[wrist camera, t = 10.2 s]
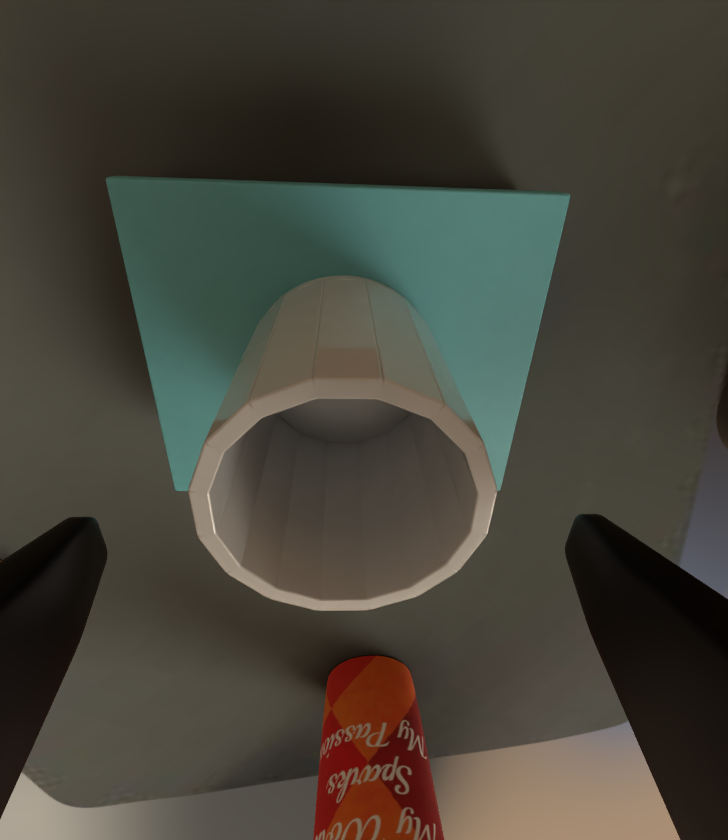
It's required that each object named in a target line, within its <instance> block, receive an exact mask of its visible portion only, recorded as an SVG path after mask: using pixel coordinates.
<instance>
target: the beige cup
mask: <svg viewBox="0 0 728 840" xmlns="http://www.w3.org/2000/svg"><path fill="white" fill-rule="evenodd" d="M188 488H189V491H188V493H189V498H190V503H191V508H192V513H193V518H194V522H195V527H196V532H197V535H198V538H199V539H200V540H201V542H202V543H203V544H204V546H205V547H206V548H207V549H208V551H209V552H210V553H211V554H212V556H213V557H214V558H215V560H216V561H217V562H218V563H219V565H220V566H221V567H222V568H223V570H224V571H225V572H226V573H227V574H228V575H230V576H232V577H233V578H235V579H237V580H238V581H240V582H242V583H243V584H245V585H247V586H248V587H250V588H252V589H253V590H255V591H257V592H258V593H260V594H262V595H263V596H265V597H267V598H269V599H272V600H276V601H280V602H284V603H288V604H292V605H296V606H300V607H304V608H308V609H312V610H318V611H350V610H368V609H369V610H371V609H375V608H379V607H382V606H386V605H389V604H393V603H397V602H400V601H404V600H407V599H411V598H415V597H416V596H419V595H421V594H422V593H424V592H426V591H427V590H429V589H431V588H432V587H434V586H435V585H437V584H439V583H440V582H442V581H443V580H445V579H447V578H448V577H450V576H452V575H453V574H455V573H456V572H457V571H458V570H460V569H461V567H462V566H463V565H464V564H465V562H466V561H467V560H468V558H469V557H470V556H471V555H472V553H473V552H474V551H475V550H476V548H477V547H478V546H479V545H480V543H481V542H482V541H483V540H484V538H485V537H486V534H487V533H488V529H489V525H490V521H491V516H492V512H493V508H494V504H495V499H496V495H497V485H496V482H495V478H494V475H493V471H492V468H491V464H490V461H489V457H488V454H487V450H486V447H485V444H484V442H483V440H482V438H481V436H480V434H479V431H478V429H477V427H476V425H475V423H474V421H473V419H472V417H471V415H470V412H469V410H468V408H467V406H466V404H465V402H464V400H463V398H462V396H461V393H460V391H459V389H458V387H457V385H456V383H455V381H454V379H453V377H452V374H451V372H450V370H449V368H448V366H447V364H446V362H445V360H444V358H443V356H442V353H441V351H440V349H439V347H438V345H437V343H436V341H435V339H434V337H433V334H432V332H431V330H430V328H429V326H428V324H427V323H426V322H425V321H424V320H423V318H422V317H421V315H420V314H419V313H418V311H417V310H416V309H415V307H414V306H413V305H412V304H411V303H410V302H409V301H408V300H407V299H406V298H405V297H403V296H402V295H400V294H399V293H398V292H396V291H395V290H393V289H391V288H390V287H388V286H386V285H384V284H382V283H379V282H376V281H374V280H371V279H367V278H362V277H358V276H347V275H339V276H327V277H322V278H317V279H314V280H311V281H308V282H305V283H303V284H301V285H299V286H297V287H294V288H293V289H291V290H290V291H288V292H287V293H285V294H284V295H282V296H281V297H280V298H279V299H278V300H277V301H276V302H275V303H274V304H273V305H272V306H271V307H270V308H269V309H268V311H267V312H266V313H265V315H264V316H263V318H262V319H261V320H260V321H259V323H258V324H257V326H256V329H255V331H254V333H253V335H252V337H251V340H250V342H249V344H248V346H247V348H246V351H245V353H244V355H243V357H242V359H241V362H240V364H239V366H238V368H237V370H236V373H235V375H234V377H233V379H232V381H231V384H230V386H229V388H228V390H227V392H226V395H225V397H224V399H223V401H222V404H221V406H220V408H219V410H218V412H217V415H216V417H215V419H214V421H213V423H212V426H211V428H210V430H209V432H208V434H207V437H206V439H205V441H204V443H203V446H202V449H201V452H200V455H199V458H198V461H197V464H196V467H195V470H194V473H193V476H192V479H191V482H190V485H189V487H188Z"/></svg>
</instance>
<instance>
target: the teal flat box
mask: <svg viewBox="0 0 728 840" xmlns="http://www.w3.org/2000/svg"><path fill="white" fill-rule="evenodd" d="M106 184H107V188H108V193H109V197H110V201H111V206H112V210H113V215H114V219H115V224H116V228H117V233H118V237H119V242H120V246H121V251H122V255H123V260H124V264H125V269H126V273H127V277H128V282H129V286H130V291H131V295H132V300H133V304H134V309H135V313H136V318H137V322H138V327H139V331H140V336H141V340H142V345H143V349H144V353H145V358H146V362H147V367H148V371H149V376H150V380H151V385H152V389H153V394H154V398H155V403H156V407H157V412H158V416H159V421H160V425H161V429H162V434H163V438H164V443H165V447H166V452H167V456H168V461H169V465H170V470H171V474H172V479H173V483H174V488H175V490H176V491H189V488H188V487H189V485H190V482H191V479H192V476H193V473H194V470H195V467H196V464H197V461H198V458H199V455H200V452H201V449H202V446H203V443H204V441H205V439H206V437H207V434H208V432H209V430H210V428H211V426H212V423H213V421H214V419H215V417H216V415H217V412H218V410H219V408H220V406H221V404H222V401H223V399H224V397H225V395H226V392H227V390H228V388H229V386H230V384H231V381H232V379H233V377H234V375H235V373H236V370H237V368H238V366H239V364H240V362H241V359H242V357H243V355H244V353H245V351H246V348H247V346H248V344H249V342H250V340H251V337H252V335H253V333H254V331H255V329H256V326H257V324H258V323H259V321H260V320H261V319H262V318H263V316H264V315H265V313H266V312H267V311H268V309H269V308H270V307H271V306H272V305H273V304H274V303H275V302H276V301H277V300H278V299H279V298H280V297H281V296H282V295H284V294H285V293H287V292H288V291H290V290H291V289H293V288H294V287H297V286H299V285H301V284H303V283H305V282H308V281H311V280H314V279H317V278H322V277H327V276H339V275H347V276H358V277H362V278H367V279H371V280H374V281H376V282H379V283H382V284H384V285H386V286H388V287H390V288H391V289H393V290H395V291H396V292H398V293H399V294H400V295H402V296H403V297H405V298H406V299H407V300H408V301H409V302H410V303H411V304H412V305H413V306H414V307H415V309H416V310H417V311H418V313H419V314H420V315H421V317H422V318H423V320H424V321H425V322H426V323H427V324H428V326H429V328H430V330H431V332H432V334H433V337H434V339H435V341H436V343H437V345H438V347H439V349H440V351H441V353H442V356H443V358H444V360H445V362H446V364H447V366H448V368H449V370H450V372H451V374H452V377H453V379H454V381H455V383H456V385H457V387H458V389H459V391H460V393H461V396H462V398H463V400H464V402H465V404H466V406H467V408H468V410H469V412H470V415H471V417H472V419H473V421H474V423H475V425H476V427H477V429H478V431H479V434H480V436H481V438H482V440H483V442H484V444H485V447H486V450H487V454H488V457H489V461H490V464H491V468H492V471H493V475H494V478H495V482H496V485H497V491H499V490H500V489H501V485H502V480H503V476H504V472H505V468H506V464H507V460H508V455H509V451H510V447H511V443H512V439H513V434H514V430H515V426H516V422H517V418H518V414H519V409H520V405H521V401H522V397H523V393H524V389H525V384H526V380H527V376H528V372H529V368H530V363H531V359H532V355H533V351H534V347H535V343H536V338H537V334H538V330H539V326H540V322H541V317H542V313H543V309H544V305H545V301H546V297H547V292H548V288H549V284H550V280H551V276H552V271H553V267H554V263H555V259H556V255H557V251H558V246H559V242H560V238H561V234H562V230H563V225H564V221H565V217H566V213H567V209H568V205H569V200H570V194H568V193H564V192H557V191H529V190H501V189H474V188H446V187H418V186H390V185H363V184H335V183H307V182H280V181H252V180H224V179H197V178H169V177H141V176H111V177H107V178H106Z"/></svg>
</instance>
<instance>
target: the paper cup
mask: <svg viewBox="0 0 728 840" xmlns="http://www.w3.org/2000/svg"><path fill="white" fill-rule="evenodd" d="M313 840H444V836H443V831H442V826H441V821H440V816H439V811H438V806H437V801H436V796H435V791H434V785H433V780H432V774H431V769H430V764H429V759H428V754H427V749H426V744H425V738H424V733H423V728H422V723H421V718H420V713H419V708H418V703H417V699H416V694H415V689H414V685H413V681H412V677H411V674H410V671H409V669H408V668H407V667H406V666H405V665H404V664H403V663H401V662H399V661H397V660H395V659H392V658H389V657H384V656H362V657H356V658H353V659H350V660H347V661H345V662H343V663H341V664H339V665H338V666H336V667H335V668H334V669H333V670H332V671H331V673H330V675H329V677H328V681H327V689H326V698H325V708H324V718H323V730H322V741H321V753H320V765H319V777H318V790H317V802H316V814H315V826H314V839H313Z"/></svg>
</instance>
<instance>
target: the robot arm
mask: <svg viewBox="0 0 728 840" xmlns="http://www.w3.org/2000/svg"><path fill="white" fill-rule="evenodd" d="M565 554H566V559H567V562H568V565H569V568H570V571H571V574H572V577H573V581H574V584H575V587H576V590H577V593H578V596H579V599H580V603H581V606H582V609H583V612H584V615H585V618H586V621H587V624H588V627H589V630H590V633H591V635H592V637H593V640H594V642H595V645H596V647H597V649H598V652H599V654H600V656H601V658H602V661H603V663H604V665H605V668H606V670H607V672H608V675H609V677H610V679H611V681H612V684H613V686H614V688H615V691H616V693H617V695H618V697H619V700H620V702H621V704H622V707H623V709H624V711H625V714H626V716H627V718H628V720H629V723H630V725H631V727H632V729H633V732H634V734H635V737H636V739H637V741H638V743H639V746H640V748H641V750H642V753H643V755H644V757H645V759H646V762H647V764H648V766H649V769H650V771H651V773H652V776H653V778H654V780H655V782H656V785H657V787H658V789H659V792H660V794H661V796H662V798H663V801H664V803H665V805H666V808H667V810H668V812H669V814H670V817H671V819H672V821H673V824H674V826H675V828H676V830H677V833H678V835H679V837H680V839H681V840H728V599H727V598H725V597H724V596H722V595H721V594H719V593H718V592H716V591H715V590H713V589H712V588H710V587H708V586H707V585H706V584H704V583H703V582H701V581H700V580H698V579H697V578H695V577H694V576H692V575H691V574H689V573H688V572H686V571H685V570H683V569H682V568H680V567H679V566H677V565H676V564H674V563H673V562H671V561H670V560H668V559H667V558H665V557H664V556H662V555H661V554H659V553H658V552H656V551H655V550H653V549H652V548H650V547H648V546H647V545H645V544H644V543H642V542H641V541H639V540H638V539H636V538H635V537H633V536H632V535H630V534H629V533H627V532H626V531H624V530H623V529H621V528H620V527H618V526H617V525H615V524H614V523H612V522H611V521H609V520H608V519H606V518H605V517H603V516H602V515H599V514H580V515H578V516H577V517H576V518H575V520H574V522H573V525H572V528H571V531H570V533H569V536H568V539H567V542H566V545H565ZM106 561H107V548H106V545H105V542H104V539H103V536H102V533H101V530H100V527H99V525H98V522H97V520H96V519H95V518H93V517H70V518H67V519H66V520H64V521H62V522H61V523H59V524H58V525H56V526H55V527H53V528H52V529H50V530H49V531H47V532H46V533H44V534H42V535H41V536H39V537H38V538H36V539H35V540H33V541H32V542H30V543H29V544H27V545H26V546H24V547H22V548H21V549H19V550H18V551H16V552H15V553H13V554H12V555H10V556H9V557H7V558H6V559H4V560H2V561H1V562H0V818H1V816H2V814H3V812H4V809H5V807H6V805H7V803H8V800H9V798H10V796H11V794H12V792H13V789H14V787H15V785H16V782H17V780H18V778H19V776H20V774H21V772H22V769H23V767H24V765H25V763H26V761H27V758H28V756H29V754H30V752H31V749H32V747H33V745H34V743H35V741H36V738H37V736H38V734H39V732H40V729H41V727H42V725H43V723H44V721H45V718H46V716H47V714H48V712H49V710H50V707H51V705H52V703H53V701H54V698H55V696H56V694H57V692H58V690H59V687H60V685H61V683H62V681H63V678H64V676H65V674H66V672H67V670H68V667H69V665H70V663H71V661H72V658H73V656H74V654H75V652H76V649H77V647H78V644H79V642H80V639H81V637H82V634H83V631H84V628H85V625H86V622H87V619H88V616H89V613H90V610H91V607H92V604H93V601H94V598H95V595H96V592H97V589H98V586H99V582H100V579H101V576H102V573H103V570H104V567H105V564H106Z"/></svg>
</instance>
